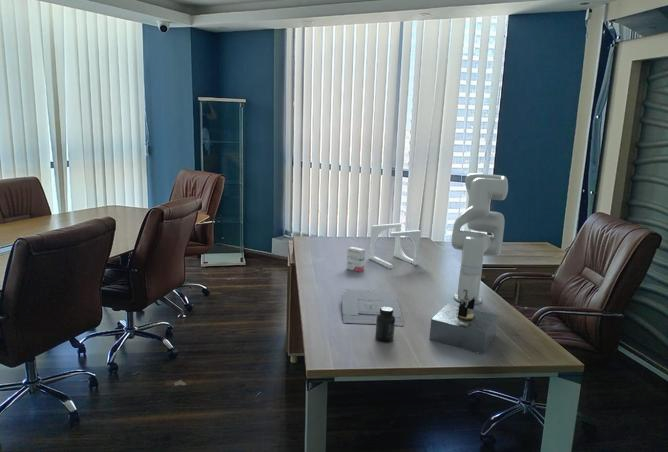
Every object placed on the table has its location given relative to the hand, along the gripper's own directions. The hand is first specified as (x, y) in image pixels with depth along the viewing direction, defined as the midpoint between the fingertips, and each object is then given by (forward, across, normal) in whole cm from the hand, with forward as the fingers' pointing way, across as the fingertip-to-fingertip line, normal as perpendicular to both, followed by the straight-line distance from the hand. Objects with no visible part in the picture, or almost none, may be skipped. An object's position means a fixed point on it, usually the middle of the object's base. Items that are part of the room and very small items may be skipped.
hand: (466, 312), depth 188 cm
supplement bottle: (+10, +20, -24) cm, 33 cm away
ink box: (+10, -49, -73) cm, 89 cm away
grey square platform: (+10, 0, 0) cm, 10 cm away
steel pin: (+10, 0, 0) cm, 10 cm away
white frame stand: (+10, -77, -63) cm, 100 cm away
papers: (+11, -2, -40) cm, 42 cm away
